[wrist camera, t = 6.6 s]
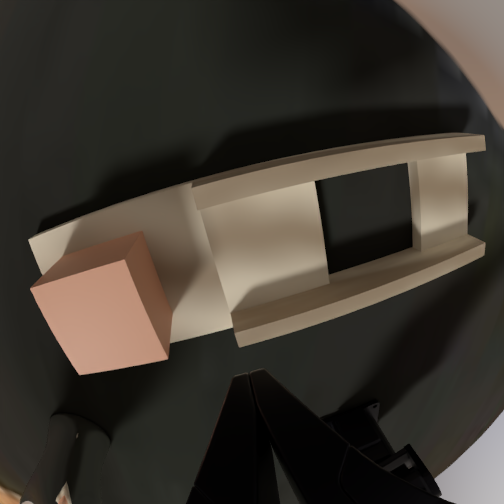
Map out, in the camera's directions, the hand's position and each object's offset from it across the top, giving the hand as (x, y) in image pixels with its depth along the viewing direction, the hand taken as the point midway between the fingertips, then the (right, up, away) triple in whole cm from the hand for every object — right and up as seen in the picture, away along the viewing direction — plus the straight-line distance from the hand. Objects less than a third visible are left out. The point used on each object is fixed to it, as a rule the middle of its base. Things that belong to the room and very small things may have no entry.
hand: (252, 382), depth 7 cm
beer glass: (-16, -13, +13) cm, 24 cm away
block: (-7, +2, +8) cm, 11 cm away
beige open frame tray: (+2, +4, +10) cm, 11 cm away
